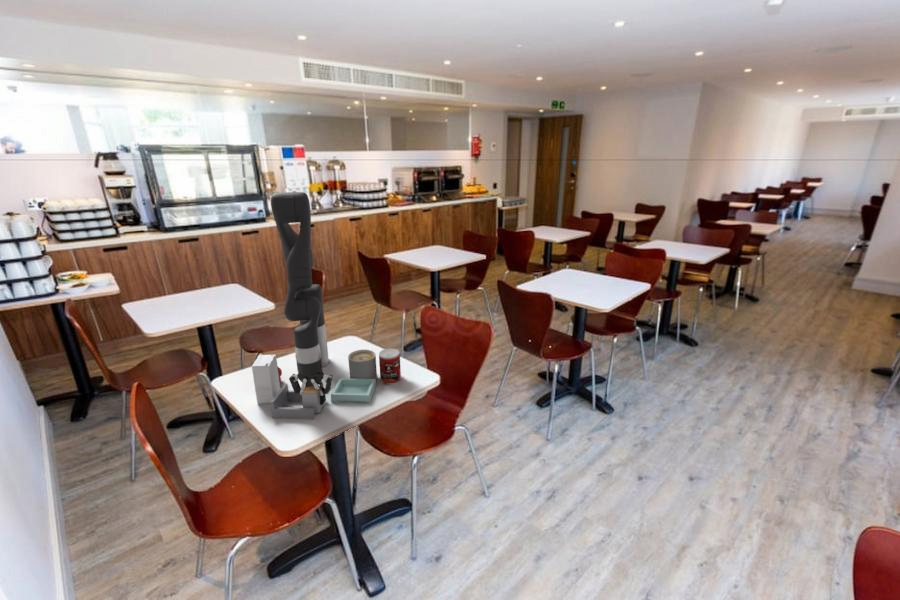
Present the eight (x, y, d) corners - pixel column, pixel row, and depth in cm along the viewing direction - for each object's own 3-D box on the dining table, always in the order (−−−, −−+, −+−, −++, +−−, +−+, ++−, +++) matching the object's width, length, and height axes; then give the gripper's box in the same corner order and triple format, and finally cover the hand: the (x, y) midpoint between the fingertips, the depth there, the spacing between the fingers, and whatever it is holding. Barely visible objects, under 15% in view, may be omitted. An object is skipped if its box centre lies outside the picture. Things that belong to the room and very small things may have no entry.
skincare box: (264, 391, 150) (258, 354, 145) (281, 390, 150) (276, 353, 145) (256, 404, 142) (250, 365, 137) (275, 403, 142) (269, 364, 138)
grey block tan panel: (310, 401, 142) (308, 382, 140) (325, 402, 142) (322, 382, 139) (303, 412, 136) (301, 391, 134) (318, 412, 136) (316, 392, 134)
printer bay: (286, 399, 145) (284, 384, 143) (325, 400, 145) (323, 384, 143) (272, 418, 135) (270, 401, 133) (314, 419, 134) (312, 403, 132)
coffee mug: (380, 382, 156) (378, 358, 153) (353, 388, 152) (351, 363, 149) (370, 366, 168) (368, 344, 164) (345, 372, 163) (343, 348, 160)
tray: (340, 385, 154) (340, 378, 153) (375, 386, 153) (375, 379, 152) (331, 402, 143) (330, 394, 143) (369, 403, 143) (368, 395, 142)
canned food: (379, 384, 155) (377, 357, 151) (381, 374, 162) (380, 348, 158) (399, 384, 155) (398, 357, 151) (401, 373, 162) (400, 348, 159)
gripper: (334, 352, 136) (338, 398, 142) (291, 351, 137) (297, 396, 142) (326, 363, 129) (331, 410, 135) (281, 362, 130) (288, 409, 135)
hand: (314, 403), depth 139 cm, fingers closed on grey block tan panel, 5 cm apart
